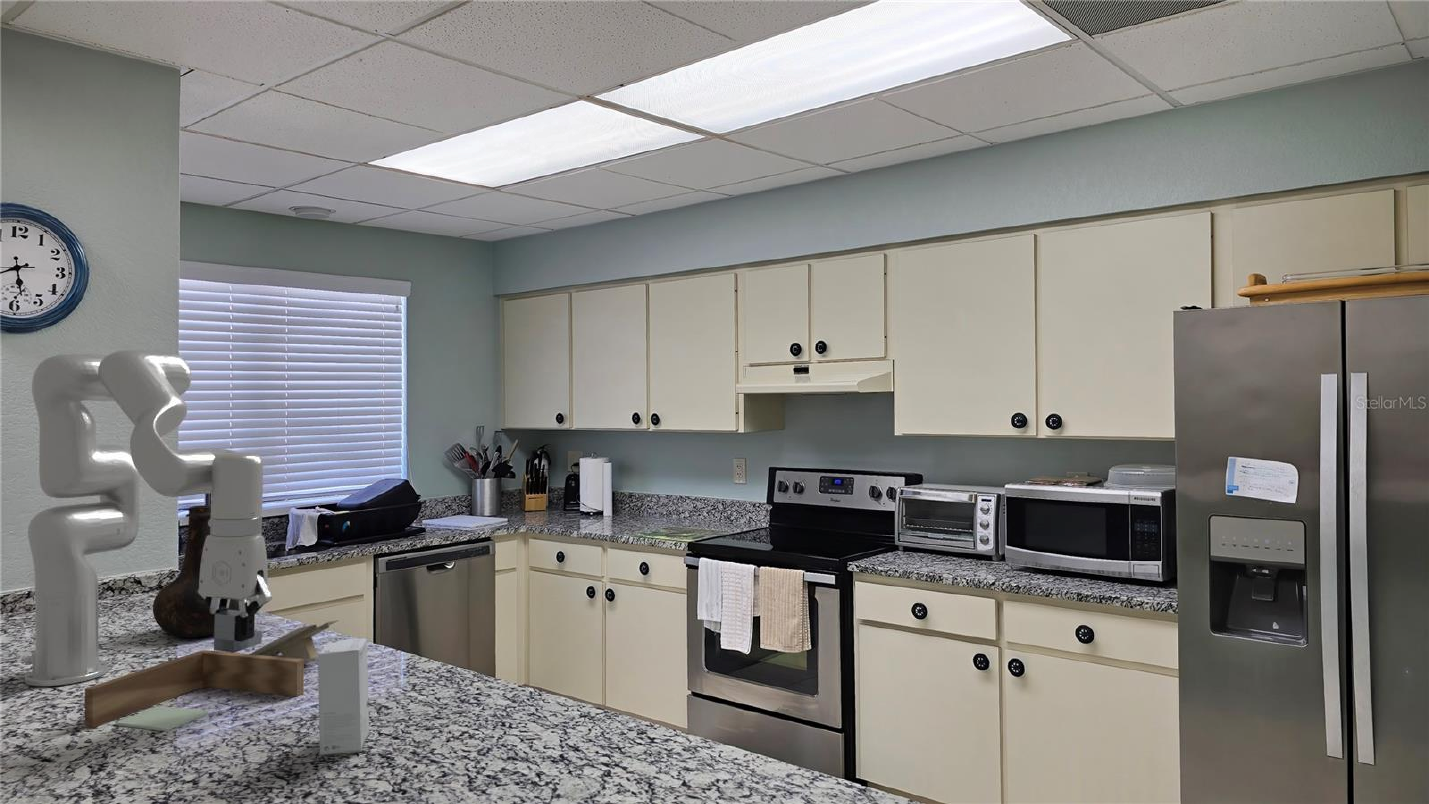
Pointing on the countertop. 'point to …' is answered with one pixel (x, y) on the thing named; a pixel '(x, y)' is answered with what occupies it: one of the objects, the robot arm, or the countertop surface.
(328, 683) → the skincare box
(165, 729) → the pad
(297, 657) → the grey angled piece
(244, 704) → the countertop surface
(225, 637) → the metal block
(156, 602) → the glass bottle
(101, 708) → the wall
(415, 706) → the countertop surface
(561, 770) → the countertop surface
